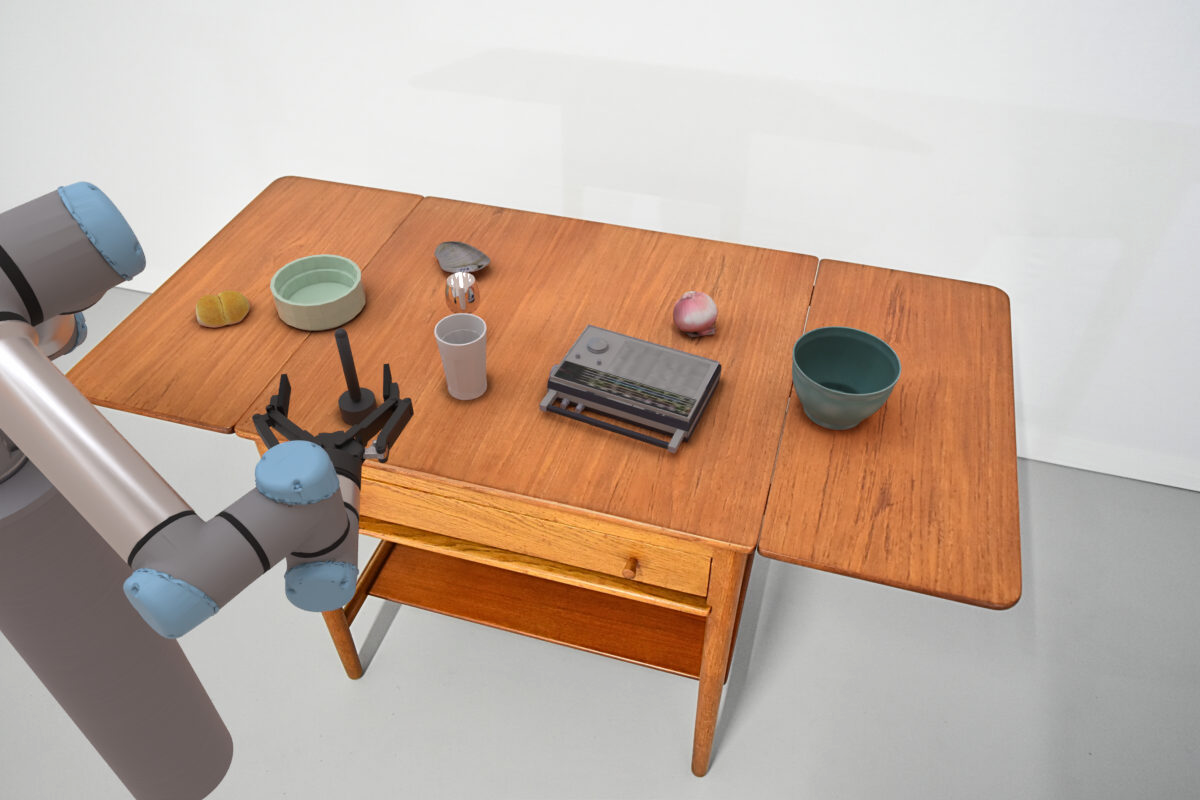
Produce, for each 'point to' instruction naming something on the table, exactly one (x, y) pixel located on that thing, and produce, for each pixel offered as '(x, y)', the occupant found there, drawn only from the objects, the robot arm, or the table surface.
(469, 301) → the wineglass
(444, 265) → the seashell
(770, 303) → the table surface
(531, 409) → the table surface
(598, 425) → the radio
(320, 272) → the bowl
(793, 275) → the table surface
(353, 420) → the plunger
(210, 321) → the bread roll
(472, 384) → the cup
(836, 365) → the flower pot
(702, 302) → the onion
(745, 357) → the table surface
